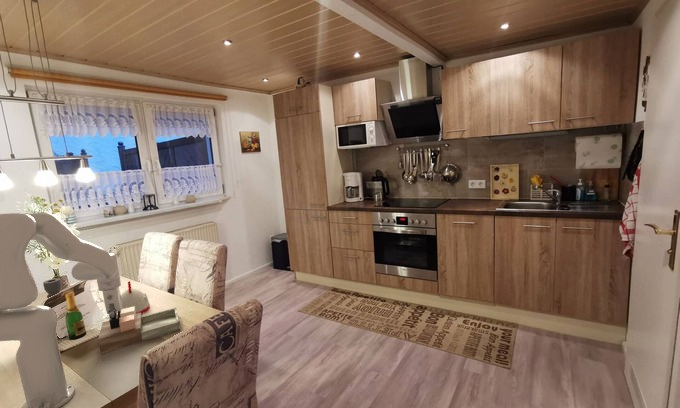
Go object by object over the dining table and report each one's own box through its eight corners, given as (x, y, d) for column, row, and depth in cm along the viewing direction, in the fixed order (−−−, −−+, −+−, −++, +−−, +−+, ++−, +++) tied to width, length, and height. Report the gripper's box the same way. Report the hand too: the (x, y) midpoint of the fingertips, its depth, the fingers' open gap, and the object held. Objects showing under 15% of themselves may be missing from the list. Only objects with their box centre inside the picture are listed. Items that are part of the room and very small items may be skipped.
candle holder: (50, 340, 138) (38, 284, 134) (59, 332, 144) (47, 279, 140) (68, 337, 139) (56, 282, 135) (75, 329, 145) (64, 277, 141)
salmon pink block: (135, 328, 132) (134, 318, 131) (120, 332, 129) (119, 323, 128) (135, 322, 136) (134, 314, 135) (121, 326, 133) (119, 317, 133)
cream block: (135, 319, 139) (133, 310, 138) (121, 322, 137) (120, 314, 136) (136, 314, 143) (134, 306, 143) (122, 317, 141) (121, 309, 140)
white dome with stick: (149, 302, 170) (144, 275, 167) (150, 312, 158) (146, 283, 156) (117, 310, 162) (112, 282, 160) (116, 321, 151) (111, 291, 149)
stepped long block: (180, 330, 140) (178, 317, 139) (100, 353, 126) (97, 339, 125) (177, 315, 153) (175, 303, 152) (105, 335, 139) (102, 322, 138)
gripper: (119, 288, 126) (126, 329, 129) (121, 275, 141) (128, 312, 143) (95, 293, 122) (103, 335, 125) (100, 279, 137) (107, 317, 140)
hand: (116, 322), depth 134 cm, fingers open, 9 cm apart
